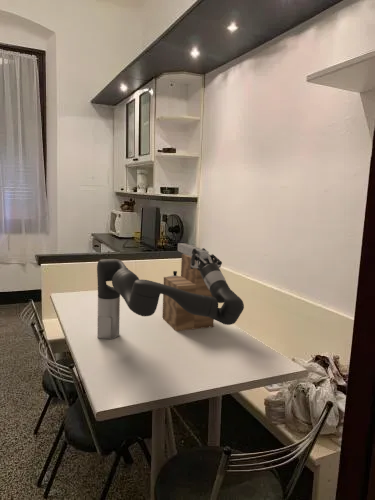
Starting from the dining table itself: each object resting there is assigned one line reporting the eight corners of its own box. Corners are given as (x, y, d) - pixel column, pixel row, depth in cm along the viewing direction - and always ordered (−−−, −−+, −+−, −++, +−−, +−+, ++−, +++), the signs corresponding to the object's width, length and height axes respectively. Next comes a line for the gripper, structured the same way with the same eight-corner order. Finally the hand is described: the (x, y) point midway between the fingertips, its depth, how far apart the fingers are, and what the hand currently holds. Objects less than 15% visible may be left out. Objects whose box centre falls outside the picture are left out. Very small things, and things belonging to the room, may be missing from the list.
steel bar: (208, 260, 157) (208, 251, 156) (200, 260, 155) (200, 251, 155) (184, 250, 178) (184, 243, 178) (177, 250, 177) (177, 243, 176)
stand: (213, 326, 184) (217, 254, 179) (175, 331, 177) (178, 256, 171) (197, 314, 200) (200, 248, 195) (162, 318, 193) (164, 249, 188)
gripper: (232, 270, 149) (215, 242, 162) (199, 272, 144) (184, 243, 156) (227, 284, 154) (210, 256, 166) (194, 286, 148) (180, 257, 160)
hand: (198, 250), depth 161 cm, fingers closed on steel bar, 3 cm apart
